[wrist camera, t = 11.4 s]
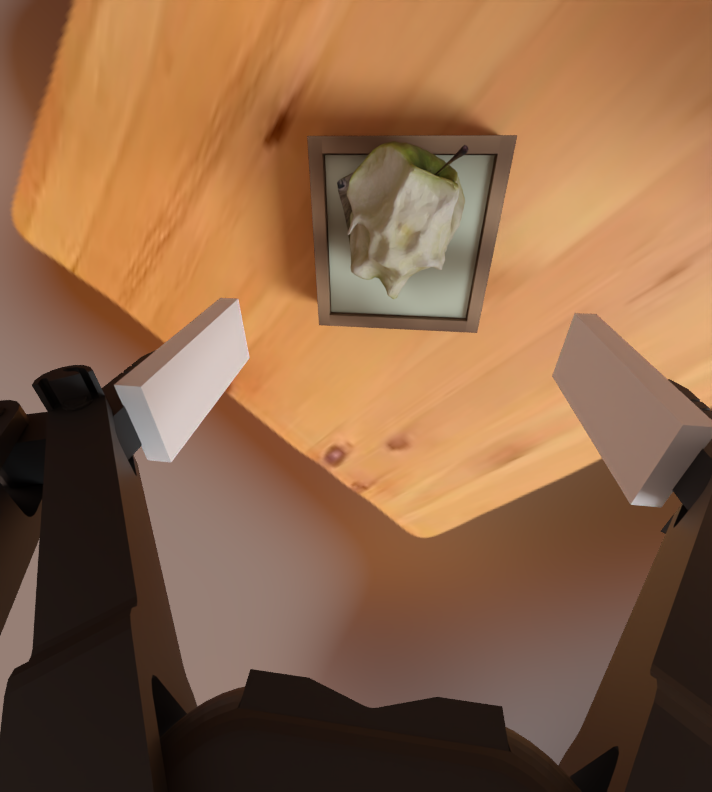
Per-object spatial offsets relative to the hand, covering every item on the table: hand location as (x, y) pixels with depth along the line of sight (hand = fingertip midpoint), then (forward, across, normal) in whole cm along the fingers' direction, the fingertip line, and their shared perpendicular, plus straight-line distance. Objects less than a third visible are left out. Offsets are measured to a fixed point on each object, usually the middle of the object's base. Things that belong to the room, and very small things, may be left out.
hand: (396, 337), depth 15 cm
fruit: (+17, 0, +2) cm, 18 cm away
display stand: (+22, 0, 0) cm, 22 cm away
